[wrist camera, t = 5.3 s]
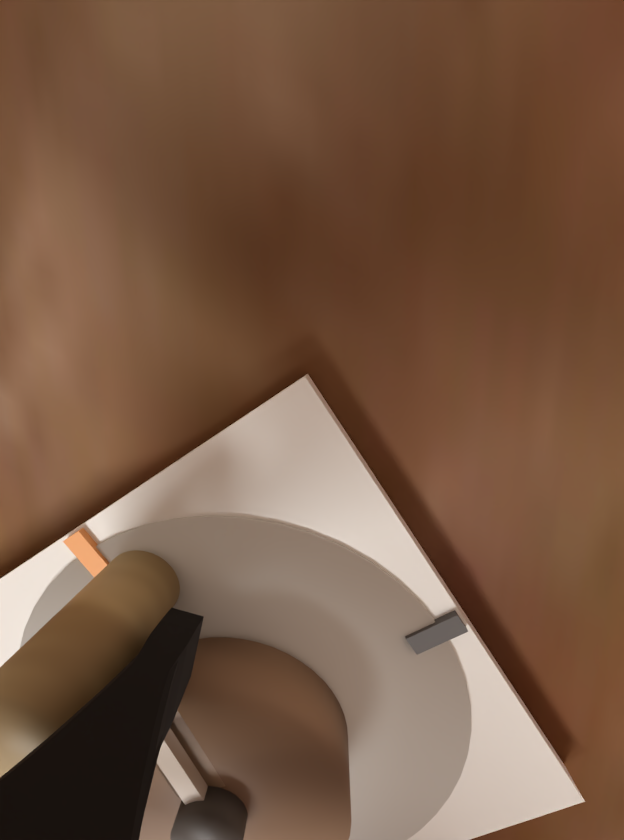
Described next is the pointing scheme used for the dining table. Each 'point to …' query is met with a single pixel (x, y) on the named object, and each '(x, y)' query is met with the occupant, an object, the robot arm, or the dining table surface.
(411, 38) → the dining table surface
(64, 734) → the robot arm
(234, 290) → the dining table surface
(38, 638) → the dial
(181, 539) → the board
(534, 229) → the dining table surface
